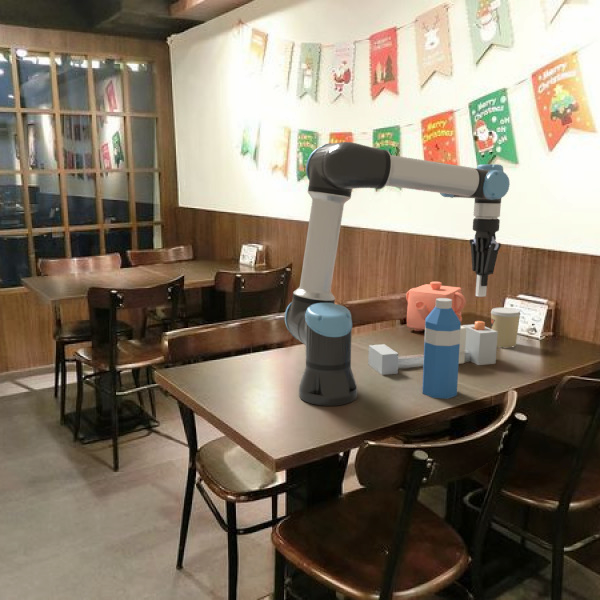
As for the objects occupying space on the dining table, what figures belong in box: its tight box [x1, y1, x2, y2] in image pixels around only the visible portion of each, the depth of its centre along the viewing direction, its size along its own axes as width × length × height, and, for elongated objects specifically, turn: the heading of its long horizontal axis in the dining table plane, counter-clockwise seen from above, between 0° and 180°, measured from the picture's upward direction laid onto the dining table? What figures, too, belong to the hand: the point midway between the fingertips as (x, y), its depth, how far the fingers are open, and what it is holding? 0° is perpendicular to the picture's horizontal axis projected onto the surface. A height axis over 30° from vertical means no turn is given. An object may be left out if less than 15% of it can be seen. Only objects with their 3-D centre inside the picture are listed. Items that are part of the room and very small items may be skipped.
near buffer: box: [367, 343, 399, 376], centre depth 175 cm, size 5×10×6 cm, turn 16°
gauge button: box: [474, 320, 486, 331], centre depth 182 cm, size 3×3×4 cm
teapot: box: [405, 281, 467, 332], centre depth 216 cm, size 25×23×18 cm
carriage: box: [458, 325, 466, 365], centre depth 180 cm, size 8×6×11 cm
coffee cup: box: [490, 306, 521, 348], centre depth 199 cm, size 9×9×12 cm
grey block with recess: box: [461, 323, 498, 366], centre depth 183 cm, size 6×10×10 cm, turn 16°
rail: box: [398, 350, 471, 370], centre depth 179 cm, size 26×2×3 cm, turn 106°
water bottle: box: [422, 298, 462, 399], centre depth 154 cm, size 9×9×25 cm
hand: (480, 296), depth 180 cm, fingers closed
